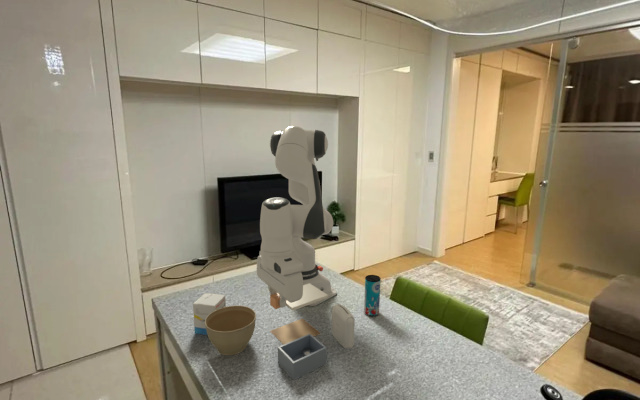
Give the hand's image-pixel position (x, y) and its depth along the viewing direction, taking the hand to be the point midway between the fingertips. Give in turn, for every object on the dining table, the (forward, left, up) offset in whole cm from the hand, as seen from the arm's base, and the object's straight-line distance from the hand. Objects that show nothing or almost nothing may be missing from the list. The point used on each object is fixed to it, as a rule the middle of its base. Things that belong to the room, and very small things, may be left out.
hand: (278, 302), depth 95 cm
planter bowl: (+7, -20, -23) cm, 31 cm away
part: (-10, 0, -22) cm, 24 cm away
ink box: (+9, -35, -23) cm, 43 cm away
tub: (-7, +1, -23) cm, 24 cm away
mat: (-14, -14, -23) cm, 30 cm away
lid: (-6, 0, -2) cm, 7 cm away
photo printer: (-25, -1, -23) cm, 34 cm away
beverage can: (-46, -8, -23) cm, 52 cm away
